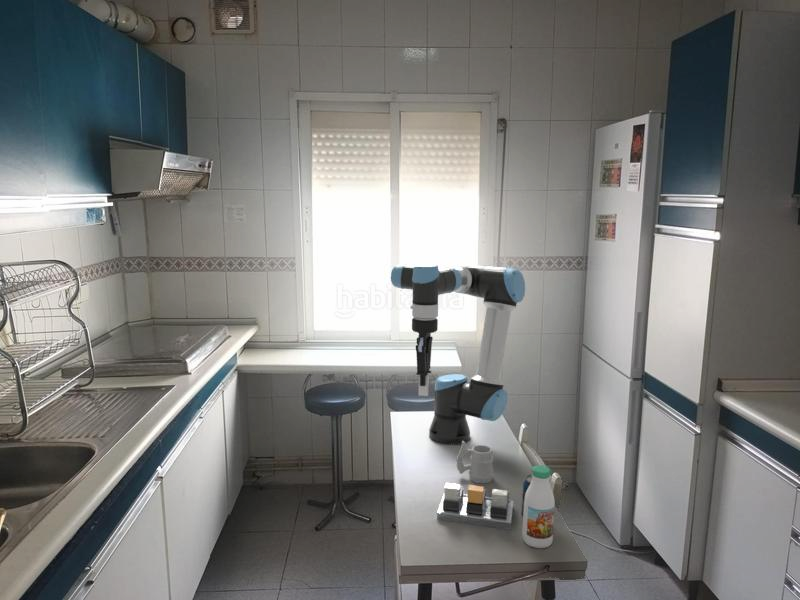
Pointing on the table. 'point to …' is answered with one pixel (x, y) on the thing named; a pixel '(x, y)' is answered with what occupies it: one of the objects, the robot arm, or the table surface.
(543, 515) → the milk bottle
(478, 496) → the toggle
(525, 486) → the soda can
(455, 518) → the breaker panel
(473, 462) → the mug
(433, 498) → the table surface
